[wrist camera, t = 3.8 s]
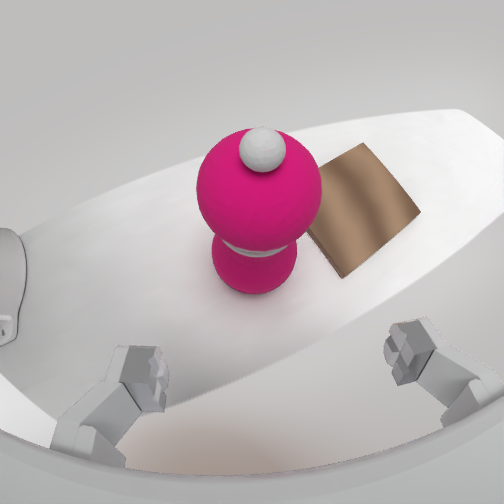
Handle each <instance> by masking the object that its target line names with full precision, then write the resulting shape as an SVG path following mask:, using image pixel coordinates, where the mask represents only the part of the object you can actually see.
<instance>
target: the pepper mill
mask: <svg viewBox="0 0 504 504" xmlns="http://www.w3.org/2000/svg"><path fill="white" fill-rule="evenodd" d="M196 190H197V200H198V205H199V209H200V211H201V214H202V216H203V218H204V220H205V221H206V223H207V224H208V226H209V227H210V228H211V230H212V231H213V232H214V233H215V236H214V238H213V243H212V258H213V263H214V266H215V269H216V271H217V273H218V275H219V276H220V277H221V279H222V280H223V281H224V282H225V283H226V284H227V285H229V286H230V287H232V288H233V289H235V290H237V291H240V292H243V293H248V294H261V293H266V292H269V291H271V290H274V289H275V288H277V287H279V286H280V285H281V284H282V283H283V282H285V280H286V279H287V278H288V277H289V275H290V274H291V272H292V270H293V268H294V264H295V261H296V257H297V244H296V240H297V239H298V238H300V237H301V236H302V235H303V234H304V232H305V231H306V230H307V229H308V228H309V226H310V225H311V224H312V223H313V221H314V219H315V217H316V215H317V213H318V210H319V207H320V204H321V198H322V179H321V175H320V172H319V169H318V166H317V164H316V162H315V160H314V158H313V156H312V155H311V153H310V152H309V151H308V150H307V149H306V148H305V147H304V146H303V145H302V144H301V143H300V142H298V141H297V140H295V139H294V138H293V137H291V136H289V135H287V134H285V133H283V132H280V131H276V130H273V129H271V128H267V127H259V128H253V129H245V130H242V131H238V132H235V133H233V134H231V135H229V136H227V137H226V138H224V139H222V140H221V141H220V142H219V143H218V144H216V145H215V146H214V147H213V148H212V149H211V151H210V152H209V153H208V154H207V155H206V157H205V159H204V161H203V163H202V164H201V167H200V170H199V173H198V179H197V186H196Z"/></svg>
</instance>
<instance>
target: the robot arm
mask: <svg viewBox="0 0 504 504" xmlns="http://www.w3.org/2000/svg"><path fill="white" fill-rule="evenodd" d="M25 280H26V259H25V253H24V248H23V245H22V243H21V240H20V238H19V237H18V235H16V233H15V232H14V231H12V230H10V229H6V228H0V346H1V345H4V344H6V343H8V342H10V341H12V340H14V339H15V338H16V335H17V315H18V311H19V307H20V304H21V301H22V297H23V293H24V288H25ZM389 333H390V336H389V337H388V338H387V339H386V341H385V344H384V356H385V360H386V362H387V363H388V364H389V365H390V366H392V367H393V369H392V375H393V377H394V379H395V381H396V383H397V386H399V385H403V384H407V383H411V382H414V381H416V382H417V383H418V384H419V385H420V386H422V387H423V388H424V389H425V390H426V391H428V392H429V393H430V394H431V395H433V396H434V397H435V398H436V399H437V400H439V401H440V402H441V403H442V404H444V405H445V406H446V407H447V408H448V409H447V410H446V412H445V413H444V414H443V415H442V416H441V419H440V420H441V422H442V424H443V427H444V428H442V429H440V430H437V431H435V432H433V433H431V434H428V435H425V436H423V437H420V438H418V439H415V440H413V441H410V442H407V443H404V444H402V445H399V446H396V447H393V448H390V449H387V450H383V451H381V452H377V453H374V454H370V455H367V456H363V457H359V458H355V459H351V460H347V461H343V462H338V463H334V464H329V465H324V466H319V467H313V468H307V469H301V470H293V471H286V472H277V473H267V474H254V475H236V476H235V475H234V476H232V475H231V476H202V475H181V474H168V473H158V472H149V471H141V470H135V469H128V468H125V461H126V458H125V456H124V455H123V454H122V453H121V452H120V451H118V450H117V449H116V448H115V445H116V444H117V443H118V441H119V440H120V439H121V438H122V437H123V435H124V434H125V433H126V432H127V430H128V429H129V428H130V427H131V426H132V424H133V423H134V422H135V421H136V419H137V418H138V417H139V416H140V414H141V413H142V412H141V411H145V412H164V409H165V402H166V395H165V393H164V390H165V389H166V388H167V387H168V381H169V372H168V367H167V364H166V361H164V360H163V359H161V357H162V352H161V349H160V347H156V346H127V345H118V346H117V347H116V349H115V351H114V354H113V357H112V360H111V363H110V366H109V369H108V372H107V375H106V378H105V381H100V382H99V383H98V384H97V385H96V386H95V387H94V388H92V389H91V390H90V391H89V392H88V393H87V394H86V395H85V396H83V397H82V398H81V399H80V400H79V401H78V402H77V403H75V404H74V405H73V406H72V407H71V408H70V409H69V410H68V411H66V412H65V413H64V414H63V415H62V416H61V417H60V418H59V419H58V422H57V426H56V428H55V432H54V435H53V438H52V442H51V445H50V449H48V448H45V447H42V446H40V445H37V444H34V443H32V442H29V441H26V440H24V439H21V438H18V437H17V436H14V435H12V434H10V433H7V432H5V431H3V430H1V429H0V504H504V386H503V384H502V382H501V381H500V379H499V377H498V376H497V374H496V372H495V371H494V369H492V368H490V367H488V366H487V365H485V364H483V363H482V362H480V361H478V360H476V359H475V358H473V357H471V356H469V355H468V354H466V353H464V352H462V351H461V350H459V349H457V348H455V347H453V346H452V345H447V344H446V342H445V341H444V339H443V338H442V336H441V335H440V333H439V332H438V330H437V329H436V327H435V326H434V324H433V323H432V321H431V320H430V319H429V318H428V317H423V318H418V319H414V320H409V321H404V322H399V323H395V324H393V325H392V326H391V327H390V330H389Z"/></svg>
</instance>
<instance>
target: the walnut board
mask: <svg viewBox="0 0 504 504" xmlns="http://www.w3.org/2000/svg"><path fill="white" fill-rule="evenodd" d="M318 169H319V172H320V175H321V179H322V198H321V204H320V207H319V210H318V213H317V215H316V217H315V219H314V221H313V223H312V224H311V225H310V226H309V228H308V229H307V230H306V231H307V232H308V233H309V235H310V236H311V237H312V239H313V240H314V241H315V243H316V244H317V245H318V247H319V248H320V249H321V251H322V252H323V253H324V255H325V256H326V258H327V259H328V260H329V262H330V263H331V264H332V266H333V267H334V268H335V270H336V271H337V273H338V274H339V275H340V277H341V278H344V277H345V276H347V275H348V274H349V273H350V272H352V271H353V270H354V269H355V268H357V267H358V266H359V265H360V264H362V263H363V262H364V261H365V260H366V259H368V258H369V257H370V256H371V255H373V254H374V253H375V252H376V251H377V250H378V249H380V248H381V247H382V246H383V245H384V244H386V243H387V242H388V241H389V240H390V239H391V238H393V237H394V236H395V235H396V234H397V233H398V232H400V231H401V230H402V229H403V228H404V227H405V226H406V225H407V224H409V223H410V222H411V221H412V220H413V219H414V218H415V217H416V216H417V215H419V214H420V213H421V211H420V210H419V209H418V207H417V206H416V205H415V203H414V202H413V201H412V199H411V198H410V197H409V195H408V194H407V193H406V192H405V190H404V189H403V188H402V187H401V185H400V184H399V183H398V182H397V180H396V179H395V178H394V177H393V175H392V174H391V173H390V172H389V171H388V170H387V168H386V167H385V166H384V165H383V164H382V163H381V161H380V160H379V159H378V158H377V157H376V156H375V155H374V154H373V152H372V151H371V150H370V149H369V148H368V147H367V146H366V145H365V144H364V143H361V144H359V145H358V146H356V147H354V148H352V149H351V150H349V151H347V152H345V153H344V154H342V155H340V156H338V157H337V158H335V159H333V160H331V161H330V162H328V163H326V164H325V165H323V166H321V167H319V168H318Z"/></svg>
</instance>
